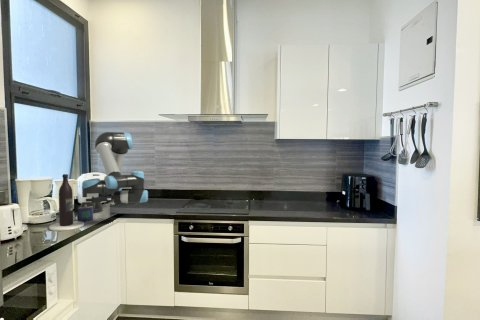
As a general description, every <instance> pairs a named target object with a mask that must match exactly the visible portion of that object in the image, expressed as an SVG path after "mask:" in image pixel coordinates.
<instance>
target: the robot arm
mask: <svg viewBox="0 0 480 320" xmlns="http://www.w3.org/2000/svg"><path fill="white" fill-rule="evenodd" d="M94 148H95V151H96V152H97V153H98V154H99V157H100V160H101V162H102V165H103V167H104V171H105V174H106V175H104V179H100V177H99V178H90V179H86V180H83V182H81V183H82V184H81V194H82V195H81V197H80V198H79V203H81V204H80V207H81V208H83V207H84V206H85V205H87V207H90V206H92V207H93V214H95V213H100V212H103V210H104V207H103V204H102V203H103V202H112V201H113V203H114V204H121V203H122V204H132V203H133V204H134V203H139V204H140V203H147V202H148V201H149V191H148V190H147V189H145V173H144V171H142V170H134V171H131V172H130V174H121V172H122V168H123V163H124V160H125V159H124V158H125V155H126V154H127V153H128V152H129V150H132V148H133V138H132V135H131V133H129V132H124V131H123V132H119V131H118V132H115V131H105V132H102V133H101V134H99V135H98V136H97V137H96V139H95V142H94ZM124 188H131V190H123V189H124Z"/></svg>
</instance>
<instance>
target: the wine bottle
mask: <svg viewBox="0 0 480 320" xmlns="http://www.w3.org/2000/svg"><path fill="white" fill-rule="evenodd" d="M61 175H62V183H61V185H60V187H59V189H58V213H59V214H58V216H59V217H58V219H59V222H58V223H59V224H60V226H69V225H72V224H73V221H74V205H73V204H74V201H73V200H74V199H73V189H72V186H71V185H70V183H69V174H68V173H67V174H65V173H63V174H61Z"/></svg>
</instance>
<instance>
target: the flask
mask: <svg viewBox="0 0 480 320" xmlns="http://www.w3.org/2000/svg"><path fill="white" fill-rule="evenodd" d="M76 210H77V212H76V213H77V221H81V222H84V223H87V222H92V221H94V213H93V207H92V206H90V207H87V205H85V206H84V207H83V208H81V206H80V207H77V209H76Z"/></svg>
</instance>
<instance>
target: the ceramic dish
mask: <svg viewBox="0 0 480 320" xmlns="http://www.w3.org/2000/svg"><path fill="white" fill-rule="evenodd" d="M84 226H85V222H81V221H78V220H73V224H72V225H69V226H60V224H59V222H56V223H52V224H51V225H49V227H48V229H49V230H50V231H54V232H66V231H74V230H77V229H82V228H83V227H84Z"/></svg>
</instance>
